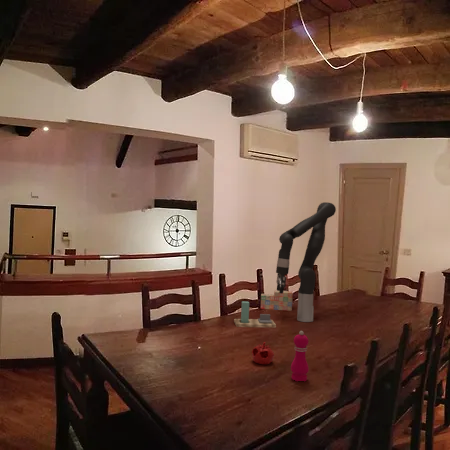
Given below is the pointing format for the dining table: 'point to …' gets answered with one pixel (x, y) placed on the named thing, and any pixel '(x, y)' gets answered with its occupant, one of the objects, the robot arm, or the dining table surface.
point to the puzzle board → (254, 323)
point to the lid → (264, 318)
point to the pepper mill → (300, 358)
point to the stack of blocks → (277, 301)
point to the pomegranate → (262, 354)
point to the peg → (245, 312)
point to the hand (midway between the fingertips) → (279, 291)
